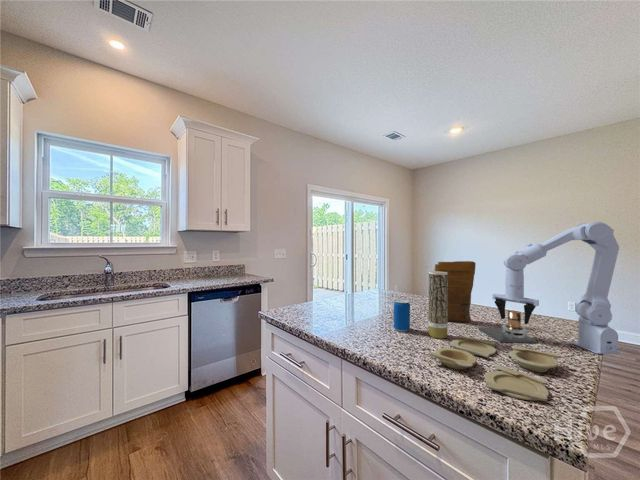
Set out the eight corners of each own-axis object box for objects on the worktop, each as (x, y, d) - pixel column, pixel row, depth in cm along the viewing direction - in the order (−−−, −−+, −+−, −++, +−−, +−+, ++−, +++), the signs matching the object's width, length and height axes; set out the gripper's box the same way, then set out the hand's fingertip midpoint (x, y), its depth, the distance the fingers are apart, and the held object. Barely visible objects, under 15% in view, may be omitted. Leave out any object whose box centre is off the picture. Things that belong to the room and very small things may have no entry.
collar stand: (536, 342, 98) (536, 332, 98) (500, 342, 98) (500, 331, 98) (509, 330, 112) (509, 320, 112) (478, 329, 112) (478, 320, 112)
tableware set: (460, 338, 103) (460, 327, 103) (562, 364, 82) (562, 351, 82) (417, 367, 79) (418, 354, 79) (546, 415, 58) (546, 396, 58)
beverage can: (407, 327, 114) (408, 299, 114) (411, 332, 108) (411, 303, 108) (392, 326, 115) (392, 299, 115) (395, 332, 109) (395, 302, 109)
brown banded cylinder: (523, 337, 101) (523, 313, 101) (512, 337, 101) (512, 313, 101) (515, 333, 105) (515, 310, 105) (505, 333, 105) (505, 310, 105)
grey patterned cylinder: (449, 340, 100) (450, 273, 100) (430, 338, 102) (430, 273, 102) (444, 333, 107) (445, 271, 107) (426, 332, 108) (427, 271, 108)
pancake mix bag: (478, 324, 120) (479, 261, 120) (434, 322, 122) (435, 261, 122) (471, 319, 127) (472, 260, 127) (430, 318, 128) (430, 260, 128)
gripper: (541, 287, 100) (541, 323, 100) (497, 282, 111) (497, 314, 111) (535, 289, 95) (535, 327, 95) (490, 284, 107) (490, 317, 107)
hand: (514, 320), depth 103 cm, fingers open, 7 cm apart
